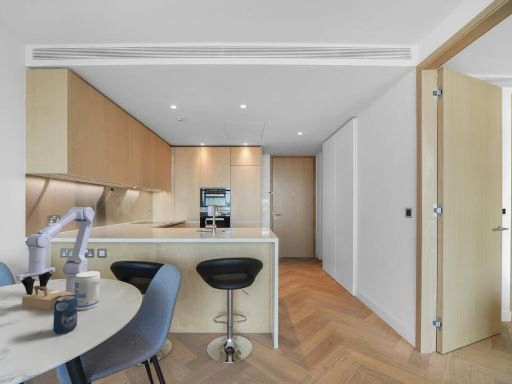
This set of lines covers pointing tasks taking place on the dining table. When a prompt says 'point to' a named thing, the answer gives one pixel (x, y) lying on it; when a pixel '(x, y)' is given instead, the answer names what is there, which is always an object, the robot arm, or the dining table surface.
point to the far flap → (42, 294)
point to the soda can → (65, 314)
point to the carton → (43, 301)
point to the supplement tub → (87, 289)
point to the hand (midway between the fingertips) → (36, 292)
